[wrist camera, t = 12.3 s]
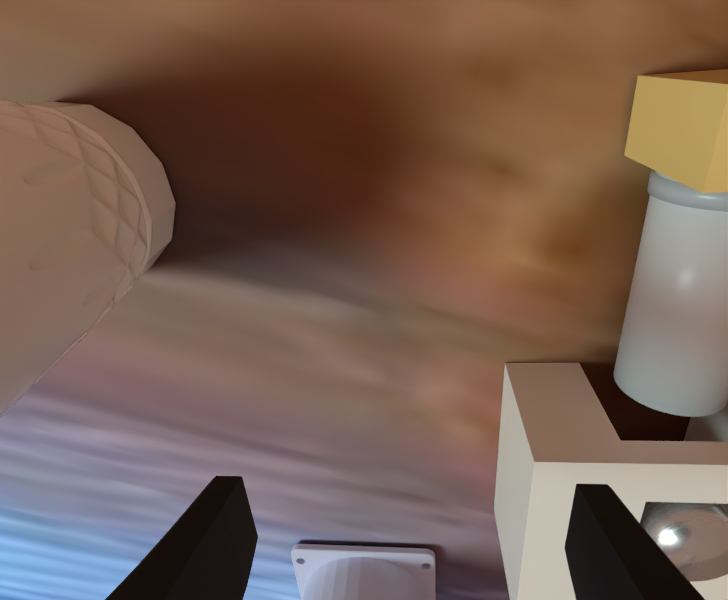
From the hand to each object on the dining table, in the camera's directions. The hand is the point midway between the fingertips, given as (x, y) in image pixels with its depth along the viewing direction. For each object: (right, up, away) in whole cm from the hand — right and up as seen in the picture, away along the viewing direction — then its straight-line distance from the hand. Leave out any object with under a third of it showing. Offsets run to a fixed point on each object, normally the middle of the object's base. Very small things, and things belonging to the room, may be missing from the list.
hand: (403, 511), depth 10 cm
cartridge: (+10, +7, +6) cm, 14 cm away
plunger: (+10, -3, +7) cm, 13 cm away
